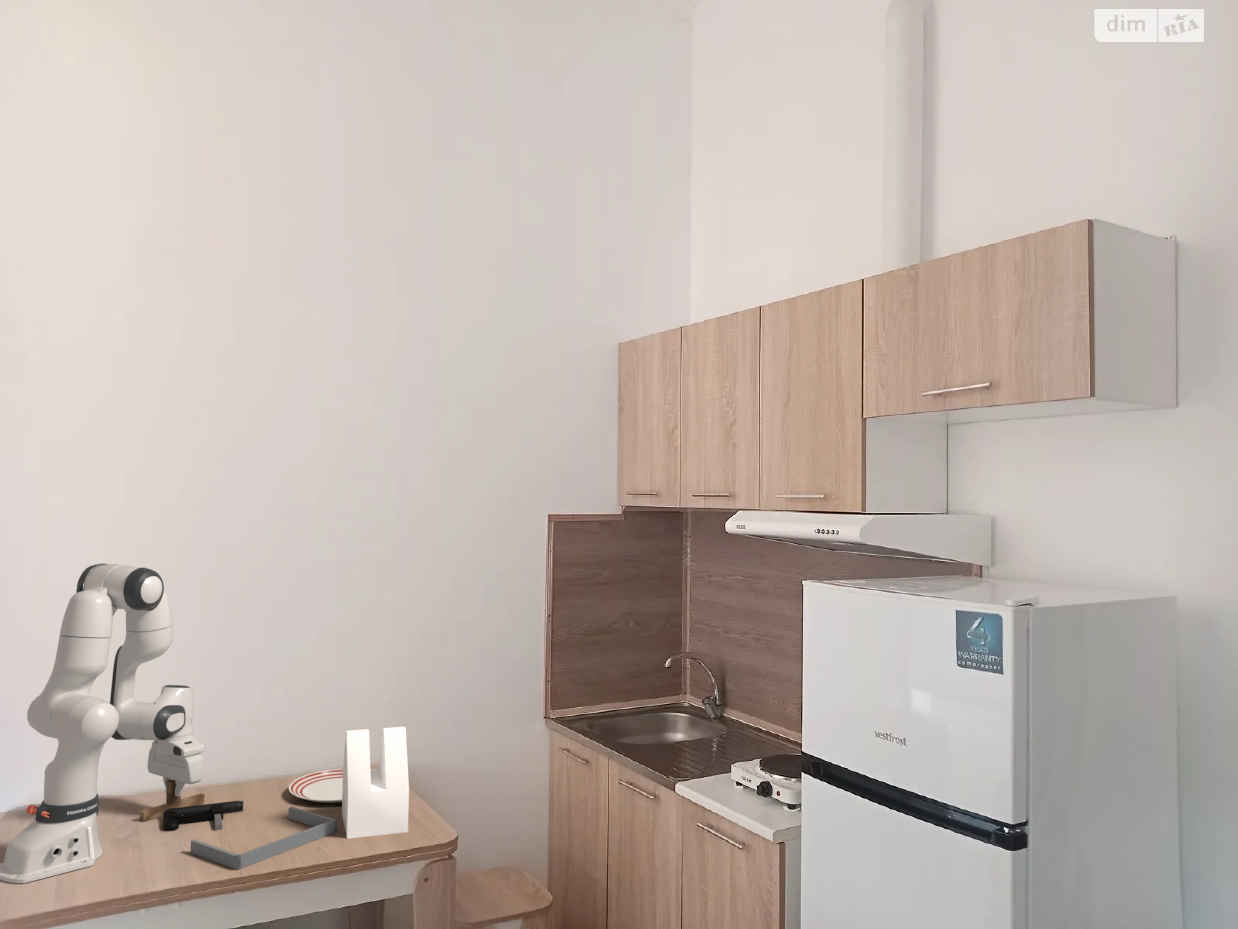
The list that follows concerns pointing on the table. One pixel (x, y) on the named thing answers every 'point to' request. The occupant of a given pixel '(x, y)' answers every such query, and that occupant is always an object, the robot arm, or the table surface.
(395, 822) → the white fork-shaped stand
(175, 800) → the walnut scraper
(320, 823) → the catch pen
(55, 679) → the robot arm
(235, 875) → the table surface
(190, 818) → the black angular piece
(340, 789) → the dinner plate
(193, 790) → the table surface
